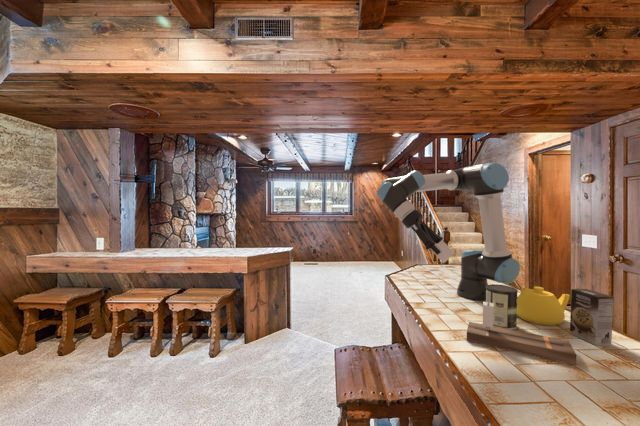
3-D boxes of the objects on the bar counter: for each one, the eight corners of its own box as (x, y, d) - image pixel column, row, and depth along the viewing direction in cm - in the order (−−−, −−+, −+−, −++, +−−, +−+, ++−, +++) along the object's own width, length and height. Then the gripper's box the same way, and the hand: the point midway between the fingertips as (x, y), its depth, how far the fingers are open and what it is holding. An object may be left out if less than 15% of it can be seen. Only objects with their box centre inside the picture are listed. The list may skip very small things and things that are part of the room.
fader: (482, 325, 101) (483, 301, 101) (492, 327, 99) (493, 302, 99) (482, 330, 98) (483, 304, 97) (492, 332, 96) (493, 306, 96)
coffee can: (509, 320, 115) (510, 285, 115) (522, 331, 105) (523, 292, 105) (481, 318, 117) (482, 283, 117) (490, 328, 107) (491, 290, 107)
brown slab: (468, 329, 106) (468, 321, 106) (568, 350, 92) (568, 340, 92) (466, 340, 97) (466, 331, 97) (576, 365, 83) (576, 354, 83)
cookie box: (568, 333, 104) (570, 288, 103) (584, 332, 104) (586, 288, 104) (595, 346, 95) (597, 296, 94) (612, 344, 95) (614, 296, 95)
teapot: (530, 326, 110) (531, 293, 109) (501, 308, 128) (502, 280, 128) (585, 328, 109) (586, 294, 108) (548, 309, 127) (549, 281, 127)
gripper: (409, 220, 125) (446, 259, 118) (391, 222, 104) (435, 270, 96) (422, 208, 122) (461, 247, 115) (407, 208, 101) (453, 256, 93)
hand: (449, 258), depth 105 cm, fingers open, 13 cm apart
